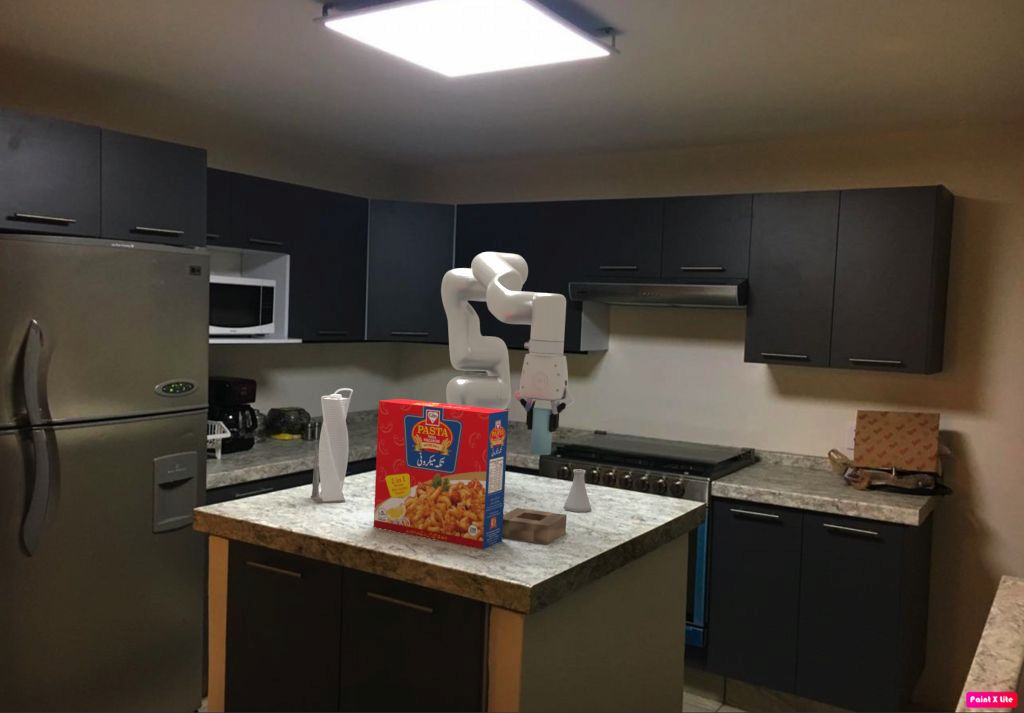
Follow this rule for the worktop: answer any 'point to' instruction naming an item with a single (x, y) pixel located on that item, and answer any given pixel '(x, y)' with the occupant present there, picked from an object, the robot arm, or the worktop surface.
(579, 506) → the flask
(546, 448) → the teal peg
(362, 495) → the worktop surface
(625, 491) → the worktop surface
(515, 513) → the walnut pocket block
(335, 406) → the skyscraper
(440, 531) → the pasta box
